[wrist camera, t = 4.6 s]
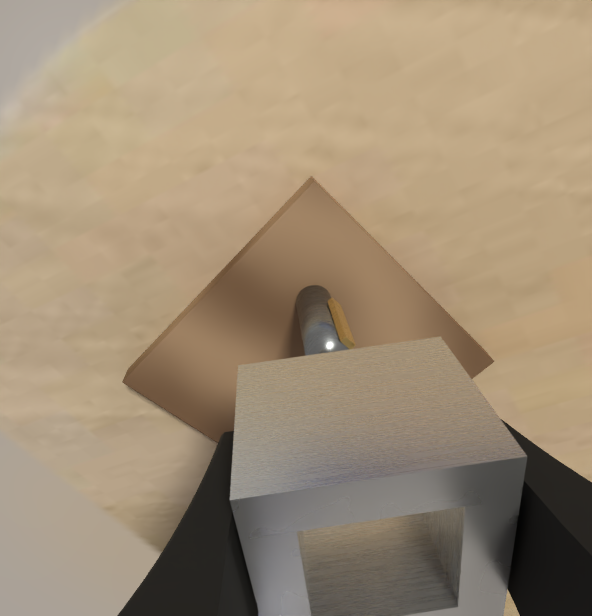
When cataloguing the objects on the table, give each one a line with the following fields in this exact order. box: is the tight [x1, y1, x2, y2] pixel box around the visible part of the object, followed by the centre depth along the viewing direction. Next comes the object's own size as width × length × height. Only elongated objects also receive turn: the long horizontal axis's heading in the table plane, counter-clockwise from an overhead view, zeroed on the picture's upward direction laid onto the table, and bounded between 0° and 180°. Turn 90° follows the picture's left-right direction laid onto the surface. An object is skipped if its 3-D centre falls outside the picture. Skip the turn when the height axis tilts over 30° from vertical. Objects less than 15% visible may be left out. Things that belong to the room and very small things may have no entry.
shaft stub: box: [296, 285, 356, 356], centre depth 17 cm, size 2×2×4 cm
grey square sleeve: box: [230, 337, 527, 616], centre depth 10 cm, size 5×5×4 cm
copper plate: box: [123, 176, 494, 443], centre depth 21 cm, size 12×12×1 cm
